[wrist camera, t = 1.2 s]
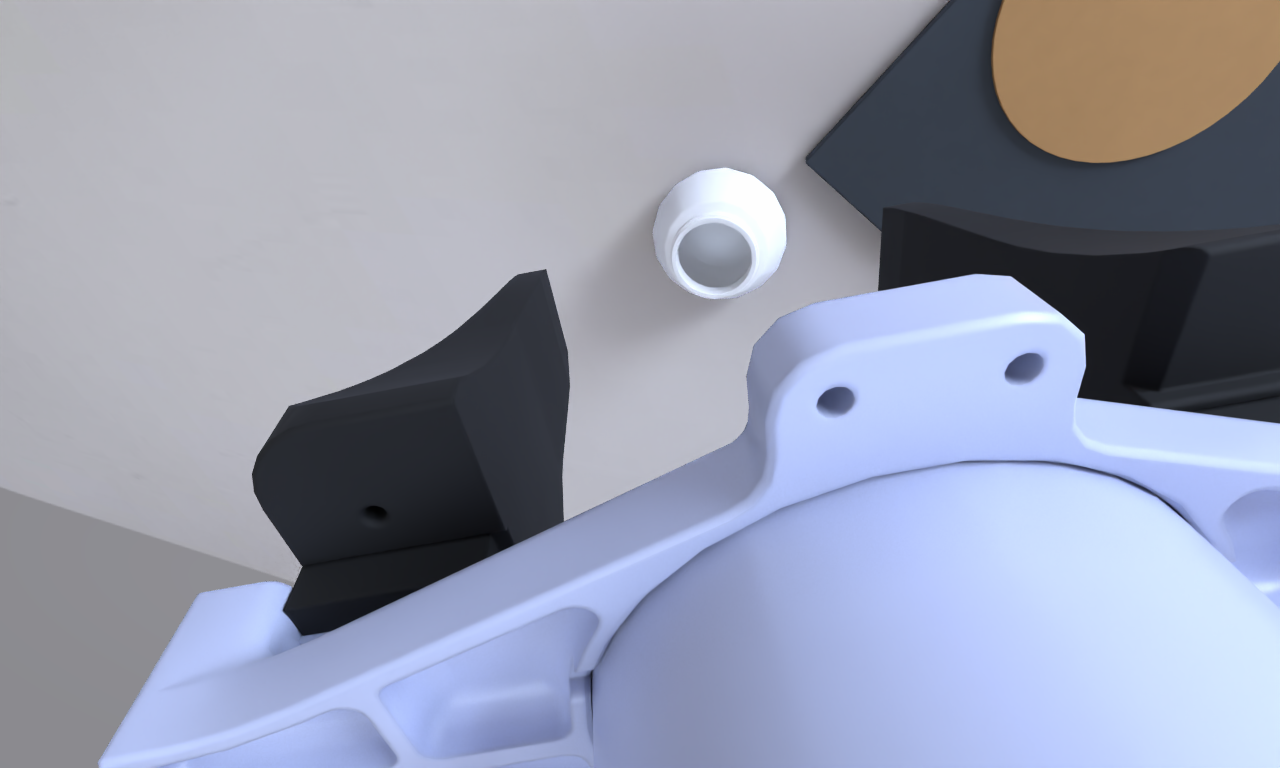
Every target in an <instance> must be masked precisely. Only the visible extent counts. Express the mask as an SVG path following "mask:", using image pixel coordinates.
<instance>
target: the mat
mask: <svg viewBox="0 0 1280 768" xmlns="http://www.w3.org/2000/svg"><path fill="white" fill-rule="evenodd" d="M805 160H806V164H807V165H808V166H810V167H811V168H812V169H813V170H814V171H815V172H816V173H817V174H818V175H819V176H821V177H822V178H823V179H824V180H825V181H826V182H827V183H828V184H829V185H831V186H832V187H833V188H834V189H835V190H836V191H837V192H838V193H839V194H841V195H842V196H843V197H844V198H845V199H846V200H847V201H848V202H849V203H850V204H852V205H853V206H854V207H855V208H856V209H857V210H858V211H859V212H860V213H862V214H863V215H864V216H865V217H866V218H867V219H868V220H869V221H870V222H871V223H873V224H874V225H875V226H876V227H877V228H878V229H879V230H880V231H881V232H882V216H883V208H884V207H889V206H895V205H900V204H906V203H911V202H923V203H933V204H939V205H945V206H950V207H955V208H960V209H965V210H970V211H975V212H980V213H985V214H990V215H995V216H1000V217H1005V218H1011V219H1016V220H1022V221H1029V222H1035V223H1041V224H1048V225H1056V226H1064V227H1075V228H1086V229H1098V230H1116V231H1198V230H1217V229H1235V228H1249V227H1258V226H1268V225H1277V224H1280V0H950V1H949V3H948V4H947V5H946V6H945V7H944V8H943V9H942V10H941V11H940V12H939V13H938V14H937V16H936V17H935V18H934V19H933V20H932V21H931V22H930V23H929V24H928V25H927V26H926V28H925V29H924V30H923V31H922V32H921V33H920V34H919V35H918V36H917V37H916V38H915V40H914V41H913V42H912V43H911V44H910V45H909V46H908V47H907V48H906V49H905V50H904V51H903V53H902V54H901V55H900V56H899V57H898V58H897V59H896V60H895V61H894V62H893V63H892V65H891V66H890V67H889V68H888V69H887V70H886V71H885V72H884V73H883V74H882V75H881V76H880V78H879V79H878V80H877V81H876V82H875V83H874V84H873V85H872V86H871V87H870V88H869V90H868V91H867V92H866V93H865V94H864V95H863V96H862V97H861V98H860V99H859V100H858V101H857V103H856V104H855V105H854V106H853V107H852V108H851V109H850V110H849V111H848V112H847V113H846V115H845V116H844V117H843V118H842V119H841V120H840V121H839V122H838V123H837V124H836V125H835V126H834V128H833V129H832V130H831V131H830V132H829V133H828V134H827V135H826V136H825V137H824V138H823V140H822V141H821V142H820V143H819V144H818V145H817V146H816V147H815V148H814V149H813V150H812V151H811V153H810V154H809V155H808V156H807V157H806V159H805Z"/></svg>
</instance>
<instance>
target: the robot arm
mask: <svg viewBox="0 0 1280 768" xmlns="http://www.w3.org/2000/svg"><path fill="white" fill-rule="evenodd" d="M569 389H570V380H569V364H568V350H567V347H566V343H565V339H564V335H563V331H562V328H561V324H560V320H559V316H558V312H557V309H556V305H555V301H554V297H553V293H552V290H551V286H550V282H549V278H548V275H547V271H546V269H545V270H540V271H534V272H529V273H523V274H518V275H517V276H515V277H514V278H512V279H511V280H510V281H509V282H508V283H507V284H506V285H505V286H504V287H503V288H502V289H501V290H500V291H499V292H498V293H497V294H496V295H495V296H494V297H493V298H492V299H491V300H490V301H489V302H488V303H486V304H485V305H484V306H483V307H482V308H481V309H480V310H479V311H478V312H477V313H476V314H474V315H473V316H472V317H471V318H470V319H469V320H467V321H466V322H465V323H464V324H463V325H462V326H460V327H459V328H458V329H457V330H456V331H454V332H453V333H452V334H450V335H449V336H448V337H446V338H445V339H444V340H442V341H441V342H439V343H438V344H436V345H434V346H433V347H431V348H430V349H428V350H427V351H425V352H424V353H422V354H420V355H418V356H416V357H414V358H413V359H411V360H409V361H407V362H405V363H403V364H401V365H399V366H398V367H396V368H394V369H392V370H390V371H388V372H386V373H383V374H381V375H379V376H377V377H374V378H372V379H370V380H367V381H365V382H362V383H359V384H357V385H354V386H352V387H349V388H346V389H344V390H341V391H338V392H335V393H331V394H328V395H325V396H322V397H318V398H315V399H312V400H308V401H305V402H302V403H298V404H295V405H291V406H289V407H288V409H287V410H286V412H285V413H284V415H283V417H282V418H281V420H280V421H279V423H278V424H277V426H276V428H275V429H274V431H273V432H272V434H271V435H270V437H269V439H268V440H267V442H266V443H265V445H264V446H263V448H262V449H261V451H260V453H259V454H258V456H257V458H256V462H255V465H254V469H253V472H252V478H253V486H254V493H255V495H256V497H257V499H258V501H259V503H260V505H261V507H262V509H263V511H264V512H265V513H266V515H267V516H268V518H269V519H270V521H271V522H272V523H273V525H274V526H275V528H276V529H277V531H278V532H279V533H280V535H281V536H282V538H283V539H284V541H285V542H286V544H287V545H288V546H289V548H290V549H291V551H292V552H293V554H294V555H295V556H296V558H297V559H298V561H299V562H300V564H301V565H302V566H303V567H302V569H301V571H300V574H299V576H298V578H297V580H296V583H295V585H294V587H293V588H292V587H291V586H290V585H287V584H284V583H281V582H277V581H270V582H269V581H268V582H267V581H266V582H260V583H254V584H248V585H243V586H237V587H231V588H225V589H220V590H214V591H208V592H202V593H199V594H198V595H197V597H196V598H195V600H194V602H193V603H192V605H191V607H190V608H189V610H188V612H187V613H186V615H185V617H184V618H183V620H182V622H181V623H180V625H179V627H178V628H177V630H176V632H175V634H174V635H173V637H172V639H171V640H170V642H169V644H168V645H167V647H166V649H165V650H164V652H163V654H162V655H161V657H160V659H159V661H158V662H157V664H156V666H155V667H154V669H153V670H152V672H151V674H150V675H149V677H148V679H147V681H146V683H145V684H144V686H143V687H142V689H141V691H140V692H139V694H138V696H137V697H136V699H135V701H134V702H133V704H132V706H131V707H130V709H129V711H128V712H127V714H126V716H125V718H124V719H123V721H122V723H121V724H120V726H119V728H118V729H117V731H116V733H115V735H114V736H113V738H112V740H111V741H110V743H109V745H108V746H107V748H106V749H105V751H104V753H103V754H102V756H101V758H100V760H99V761H98V766H99V768H1280V224H1277V225H1268V226H1258V227H1249V228H1235V229H1217V230H1198V231H1116V230H1098V229H1086V228H1075V227H1064V226H1056V225H1048V224H1041V223H1035V222H1029V221H1022V220H1016V219H1011V218H1005V217H1000V216H995V215H990V214H985V213H980V212H975V211H970V210H965V209H960V208H955V207H950V206H945V205H939V204H933V203H923V202H911V203H906V204H900V205H895V206H889V207H884V208H883V216H882V233H881V251H880V268H879V285H878V292H872V293H867V294H861V295H856V296H850V297H845V298H839V299H834V300H828V301H823V302H817V303H813V304H811V305H809V306H806V307H804V308H801V309H799V310H797V311H794V312H792V313H789V314H787V315H785V316H782V317H780V318H778V319H777V320H776V321H775V323H774V324H773V325H772V326H771V327H770V328H769V329H768V330H767V331H766V332H765V334H764V335H763V336H762V337H761V338H760V339H759V340H758V341H757V342H756V343H755V345H754V346H753V351H752V355H751V359H750V364H749V368H748V372H747V389H748V401H749V413H748V422H747V425H746V427H745V430H744V431H743V433H742V434H741V435H740V436H739V437H738V438H737V439H736V440H735V441H733V442H732V443H730V444H728V445H726V446H724V447H722V448H719V449H717V450H715V451H713V452H711V453H709V454H707V455H705V456H702V457H700V458H698V459H696V460H694V461H692V462H690V463H688V464H685V465H683V466H681V467H679V468H677V469H675V470H673V471H671V472H668V473H666V474H664V475H662V476H660V477H658V478H656V479H654V480H651V481H649V482H647V483H645V484H643V485H641V486H639V487H637V488H634V489H632V490H630V491H628V492H626V493H624V494H622V495H620V496H617V497H615V498H613V499H611V500H609V501H607V502H605V503H603V504H600V505H598V506H596V507H594V508H592V509H590V510H588V511H586V512H583V513H581V514H579V515H577V516H575V517H573V518H571V519H569V520H566V521H564V515H563V486H562V470H563V454H564V444H565V433H566V423H567V413H568V401H569Z"/></svg>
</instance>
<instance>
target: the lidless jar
mask: <svg viewBox="0 0 1280 768" xmlns="http://www.w3.org/2000/svg"><path fill="white" fill-rule="evenodd" d="M652 233H653V239H654V246H655V252H656V257H657V259H658V260H659V262H660V264H661V265H662V267H663V269H664V270H665V272H666V274H667V275H668V277H669V278H670V279H671V280H673V281H674V282H675V283H677V284H678V285H679V286H680V287H682V288H683V289H684V290H686V291H687V292H688V293H691V294H694V295H698V296H700V297H704V298H708V299H712V300H713V299H727V298H738V297H740V296H742V295H744V294H746V293H749V292H751V291H753V290H755V289H757V288H759V287H761V286H762V285H763V283H764V282H765V281H766V280H767V279H768V278H769V277H770V276H771V275H772V274H773V273H774V272H775V271H776V270H777V269H778V266H779V263H780V261H781V258H782V256H783V253H784V250H785V248H786V245H787V244H786V220H785V214H784V212H783V210H782V208H781V206H780V204H779V202H778V200H777V198H776V196H775V194H774V193H773V192H772V191H771V190H770V189H769V188H767V187H766V186H765V185H764V184H763V183H761V182H760V181H759V180H758V179H757V178H755V177H754V176H753V175H750V174H746V173H743V172H740V171H736V170H733V169H729V168H719V169H711V170H703V171H698V172H696V173H695V174H693V175H691V176H689V177H688V178H686V179H684V180H682V181H681V182H679V183H677V184H676V185H675V186H674V187H673V189H672V190H671V191H670V193H669V194H668V195H667V196H666V198H665V199H664V200H663V202H662V203H661V204H660V206H659V208H658V212H657V216H656V220H655V224H654V228H653V232H652Z"/></svg>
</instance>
